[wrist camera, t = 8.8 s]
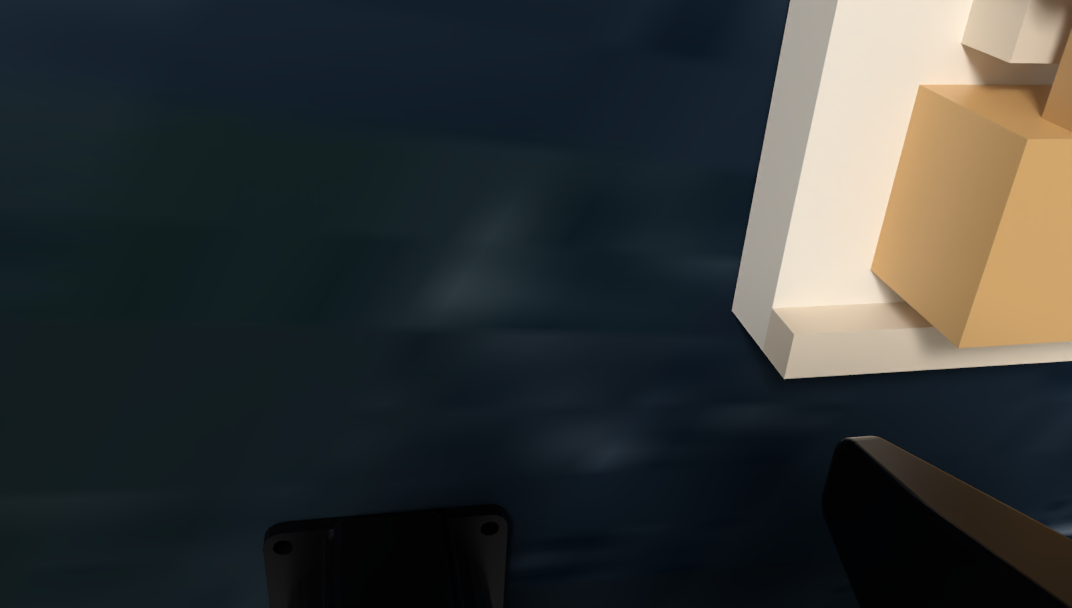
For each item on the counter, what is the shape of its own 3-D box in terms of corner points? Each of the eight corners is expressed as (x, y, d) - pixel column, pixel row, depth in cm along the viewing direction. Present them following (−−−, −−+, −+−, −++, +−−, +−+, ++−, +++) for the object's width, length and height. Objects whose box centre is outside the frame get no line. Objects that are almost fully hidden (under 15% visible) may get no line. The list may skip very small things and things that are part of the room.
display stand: (1301, -427, 17) (1508, -473, 14) (1032, 296, 25) (1129, 366, 22) (882, -486, 16) (1015, -552, 13) (731, 310, 23) (791, 388, 20)
